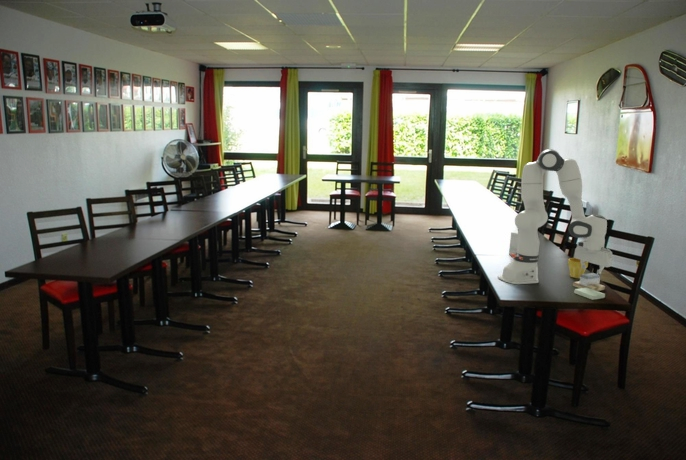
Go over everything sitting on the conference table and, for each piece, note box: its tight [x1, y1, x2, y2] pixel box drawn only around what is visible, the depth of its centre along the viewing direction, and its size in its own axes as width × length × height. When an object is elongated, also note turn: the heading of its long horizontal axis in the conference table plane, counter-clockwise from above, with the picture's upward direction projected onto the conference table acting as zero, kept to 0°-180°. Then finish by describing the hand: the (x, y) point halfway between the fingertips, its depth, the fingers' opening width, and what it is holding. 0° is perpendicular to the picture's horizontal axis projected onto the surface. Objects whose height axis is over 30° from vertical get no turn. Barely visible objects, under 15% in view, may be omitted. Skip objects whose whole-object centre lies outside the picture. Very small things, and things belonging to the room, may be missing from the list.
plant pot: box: [567, 257, 589, 279], centre depth 307 cm, size 10×10×10 cm
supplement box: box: [508, 230, 518, 256], centre depth 352 cm, size 9×9×15 cm
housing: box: [579, 272, 601, 286], centre depth 288 cm, size 10×5×5 cm, turn 118°
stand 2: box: [573, 287, 606, 300], centre depth 276 cm, size 9×11×2 cm
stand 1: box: [572, 280, 606, 292], centre depth 288 cm, size 11×11×2 cm
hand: (591, 271), depth 287 cm, fingers open, 8 cm apart
